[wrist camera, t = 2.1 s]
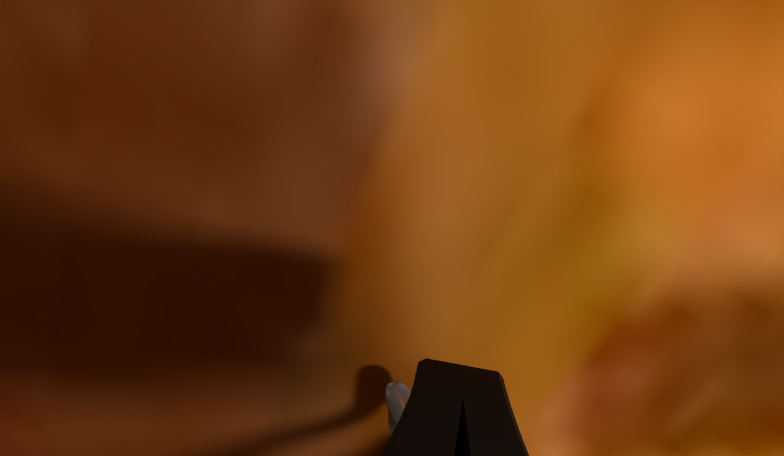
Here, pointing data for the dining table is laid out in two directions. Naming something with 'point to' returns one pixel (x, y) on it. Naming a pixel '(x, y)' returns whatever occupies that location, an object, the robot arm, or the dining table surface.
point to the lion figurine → (396, 402)
